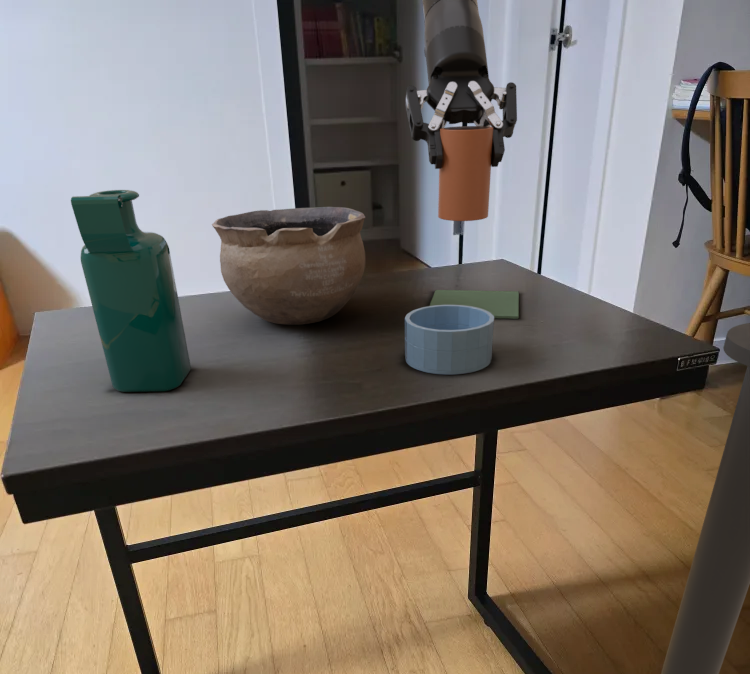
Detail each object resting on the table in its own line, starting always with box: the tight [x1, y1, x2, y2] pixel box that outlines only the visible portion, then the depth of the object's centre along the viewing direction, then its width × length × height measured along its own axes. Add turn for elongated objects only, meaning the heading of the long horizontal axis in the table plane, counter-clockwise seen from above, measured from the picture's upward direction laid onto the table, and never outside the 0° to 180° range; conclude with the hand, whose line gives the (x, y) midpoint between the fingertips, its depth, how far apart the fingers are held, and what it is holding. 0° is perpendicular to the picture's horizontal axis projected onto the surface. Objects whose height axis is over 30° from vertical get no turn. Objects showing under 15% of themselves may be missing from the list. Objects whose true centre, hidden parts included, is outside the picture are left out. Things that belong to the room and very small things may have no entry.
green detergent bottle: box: [70, 189, 192, 393], centre depth 78 cm, size 10×8×22 cm
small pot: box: [437, 125, 493, 222], centre depth 84 cm, size 6×6×10 cm
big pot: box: [404, 305, 495, 376], centre depth 86 cm, size 11×11×6 cm
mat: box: [429, 289, 520, 320], centre depth 108 cm, size 14×14×1 cm
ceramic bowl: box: [211, 206, 366, 326], centre depth 101 cm, size 22×22×15 cm
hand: (467, 162), depth 82 cm, fingers closed on small pot, 6 cm apart
